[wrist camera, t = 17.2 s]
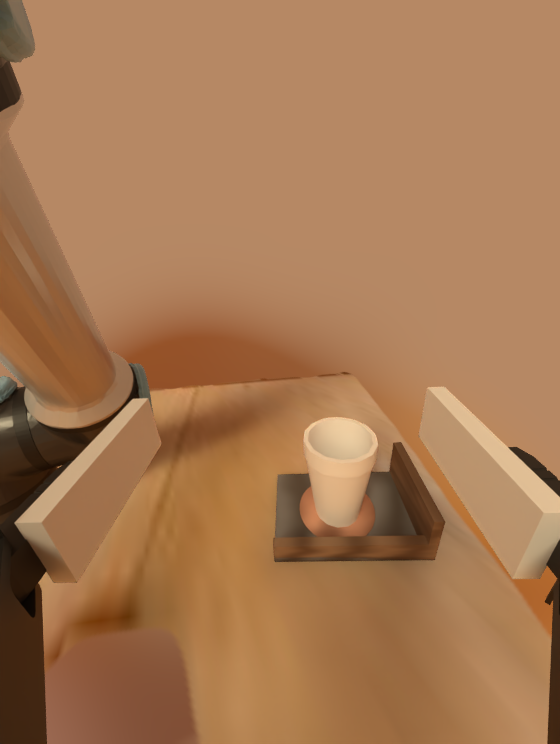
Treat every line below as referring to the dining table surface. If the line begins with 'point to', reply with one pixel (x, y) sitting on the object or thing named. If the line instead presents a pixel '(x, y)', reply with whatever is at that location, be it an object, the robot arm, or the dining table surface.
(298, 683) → the dining table surface
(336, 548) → the wooden-edged grey tray
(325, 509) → the foam cup
